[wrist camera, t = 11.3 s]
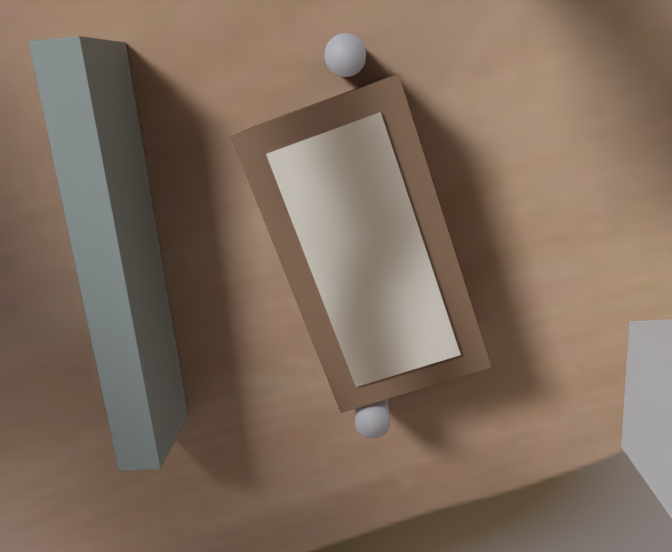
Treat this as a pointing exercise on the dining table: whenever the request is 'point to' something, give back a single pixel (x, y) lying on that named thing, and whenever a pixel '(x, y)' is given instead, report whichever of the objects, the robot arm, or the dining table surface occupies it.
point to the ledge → (129, 239)
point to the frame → (364, 243)
